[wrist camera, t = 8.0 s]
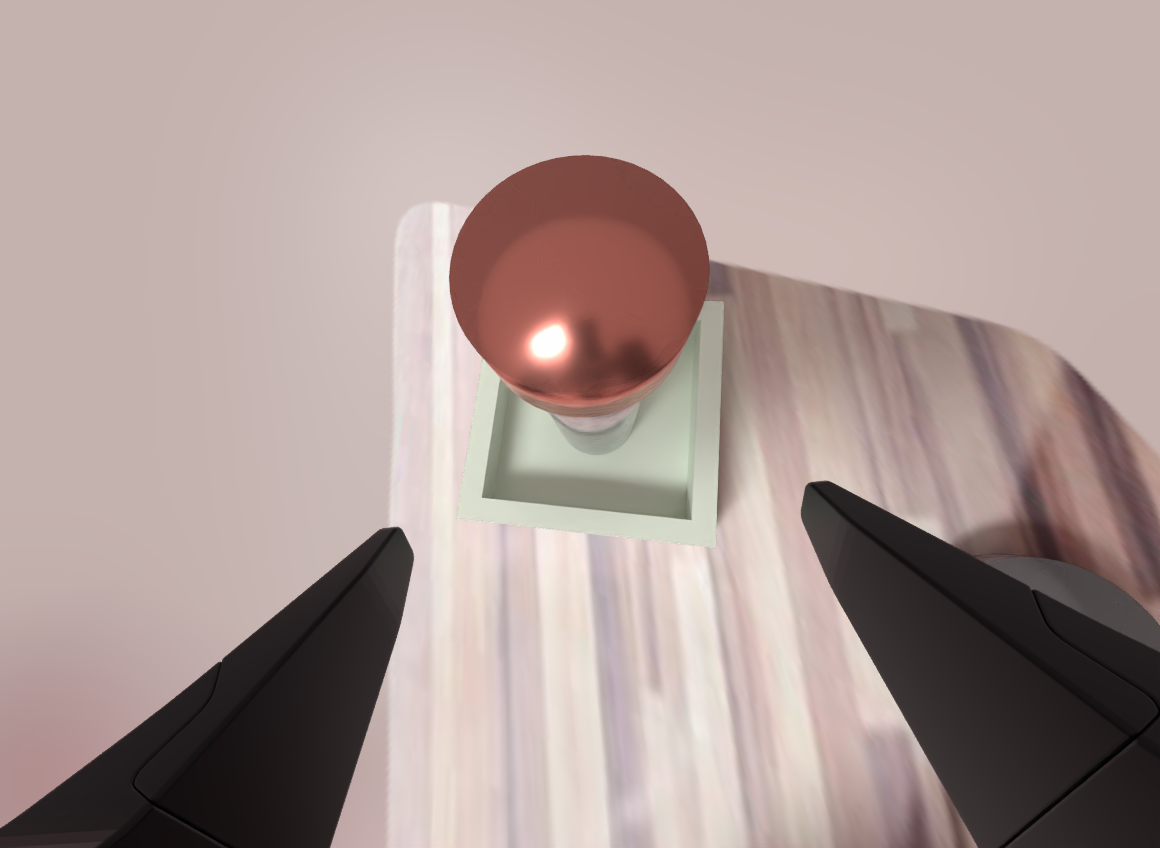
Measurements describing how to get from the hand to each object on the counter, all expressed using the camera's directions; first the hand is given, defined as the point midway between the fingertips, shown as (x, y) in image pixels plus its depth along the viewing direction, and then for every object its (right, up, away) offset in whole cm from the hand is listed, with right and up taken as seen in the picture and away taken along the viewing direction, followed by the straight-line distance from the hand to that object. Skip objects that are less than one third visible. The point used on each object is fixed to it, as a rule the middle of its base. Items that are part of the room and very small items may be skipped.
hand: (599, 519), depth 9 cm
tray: (0, +2, +12) cm, 12 cm away
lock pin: (0, +2, +11) cm, 11 cm away
